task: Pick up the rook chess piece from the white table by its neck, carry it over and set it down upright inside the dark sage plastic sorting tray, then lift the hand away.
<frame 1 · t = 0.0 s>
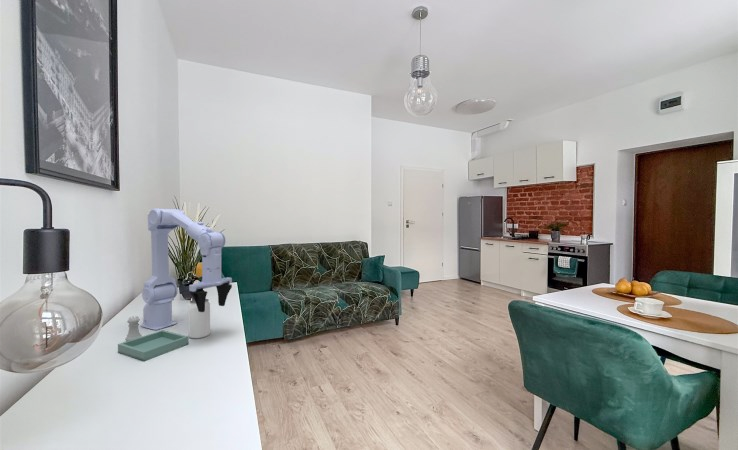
hand: (211, 308, 101), 10 cm above the table, tool pointing down, fingers open, 7 cm apart
rook chess piece: (133, 342, 98), on the table
can: (199, 336, 104), on the table
sorting tray: (154, 348, 93), on the table
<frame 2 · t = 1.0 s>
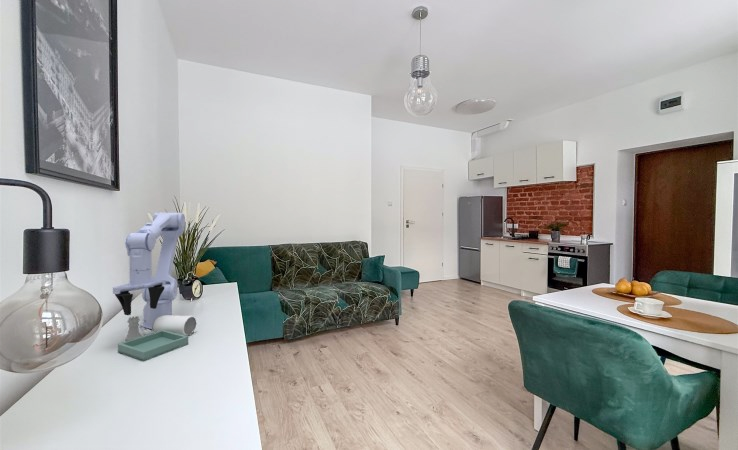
hand: (140, 311, 98), 10 cm above the table, tool pointing down, fingers open, 7 cm apart
can: (191, 325, 104), point 3 cm above the table
everything else where it was.
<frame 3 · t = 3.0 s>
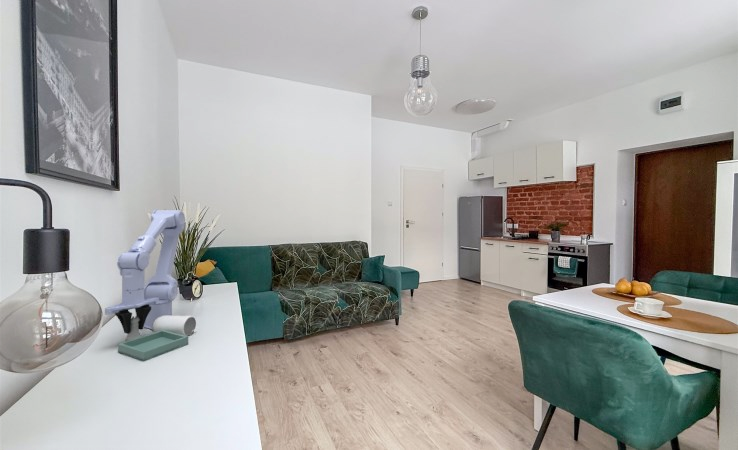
hand: (133, 330, 98), 4 cm above the table, tool pointing down, fingers closed on rook chess piece, 3 cm apart
rook chess piece: (133, 342, 98), on the table, touching gripper
everything else where it was.
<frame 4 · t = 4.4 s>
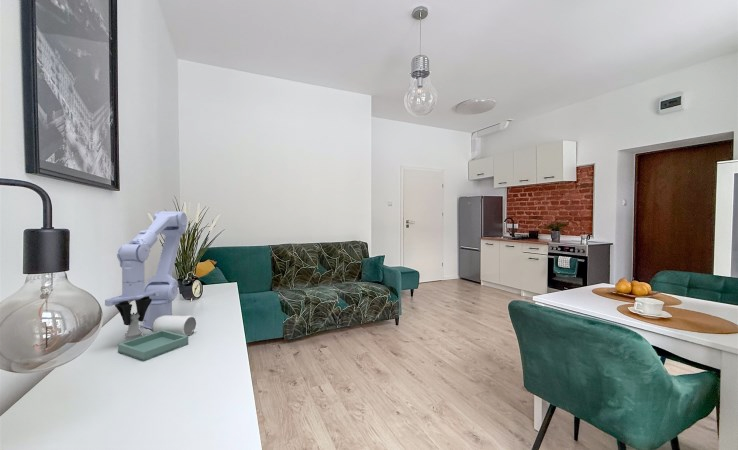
hand: (133, 322, 98), 6 cm above the table, tool pointing down, fingers closed on rook chess piece, 3 cm apart
rook chess piece: (133, 338, 98), point 1 cm above the table, touching gripper
everything else where it was.
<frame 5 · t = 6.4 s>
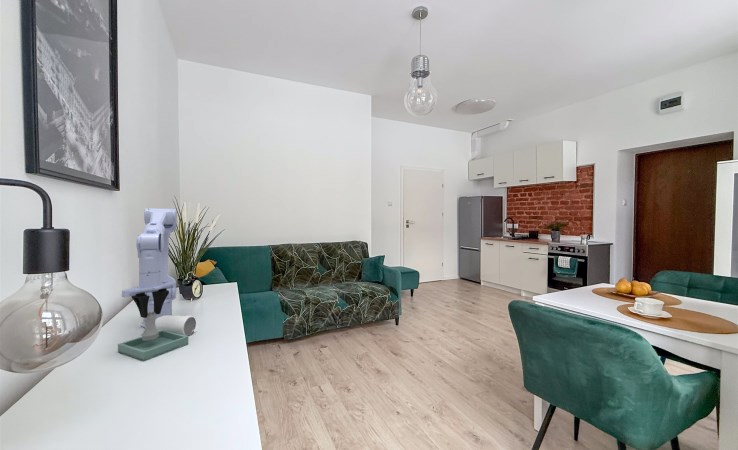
hand: (150, 315, 94), 10 cm above the table, tool pointing down, fingers closed on rook chess piece, 3 cm apart
rook chess piece: (150, 339, 94), point 3 cm above the table, touching gripper
everything else where it was.
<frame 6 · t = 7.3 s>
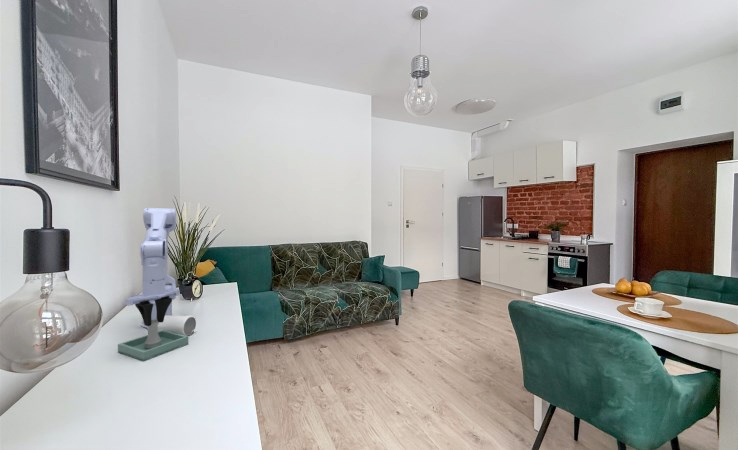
hand: (154, 323, 93), 8 cm above the table, tool pointing down, fingers closed on rook chess piece, 3 cm apart
rook chess piece: (153, 346, 93), resting on sorting tray, touching gripper
everything else where it was.
when the fingers open (5 cm above the table, at t = 8.5 s): rook chess piece stays where it is, resting on sorting tray.
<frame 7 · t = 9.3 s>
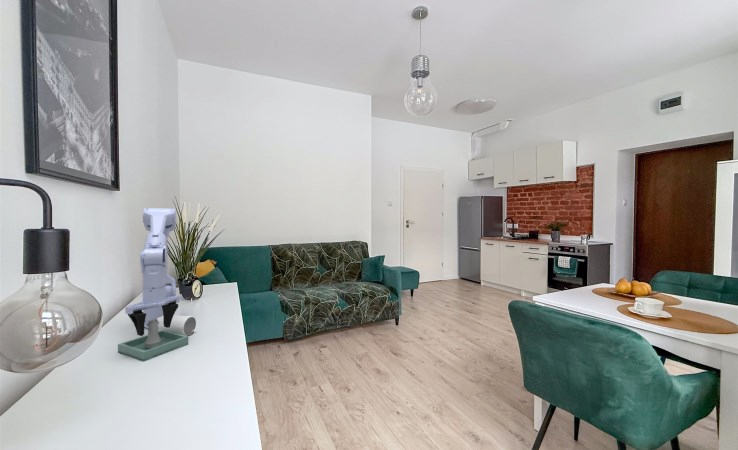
hand: (154, 330, 93), 5 cm above the table, tool pointing down, fingers open, 7 cm apart
rook chess piece: (153, 347, 93), resting on sorting tray
everything else where it was.
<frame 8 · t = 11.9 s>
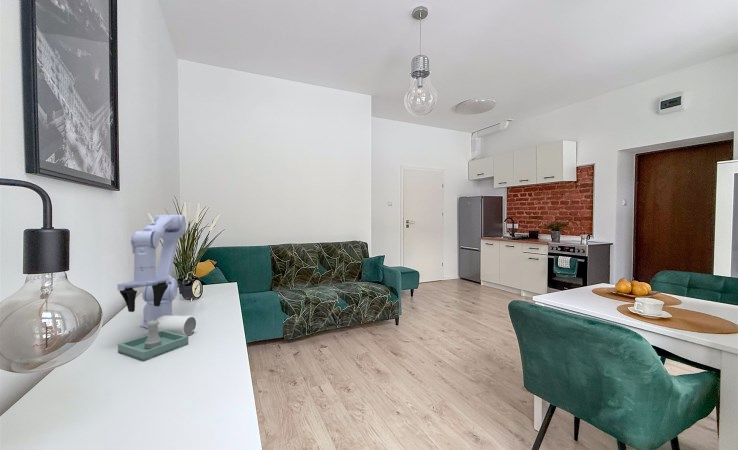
hand: (144, 308, 99), 10 cm above the table, tool pointing down, fingers open, 7 cm apart
nothing on the table moved.
at the end: rook chess piece inside the target area on the sorting tray (0.4 cm from its centre), point 0.4 cm above the sorting tray's base; rook chess piece tilted 0°; the gripper is holding nothing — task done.
